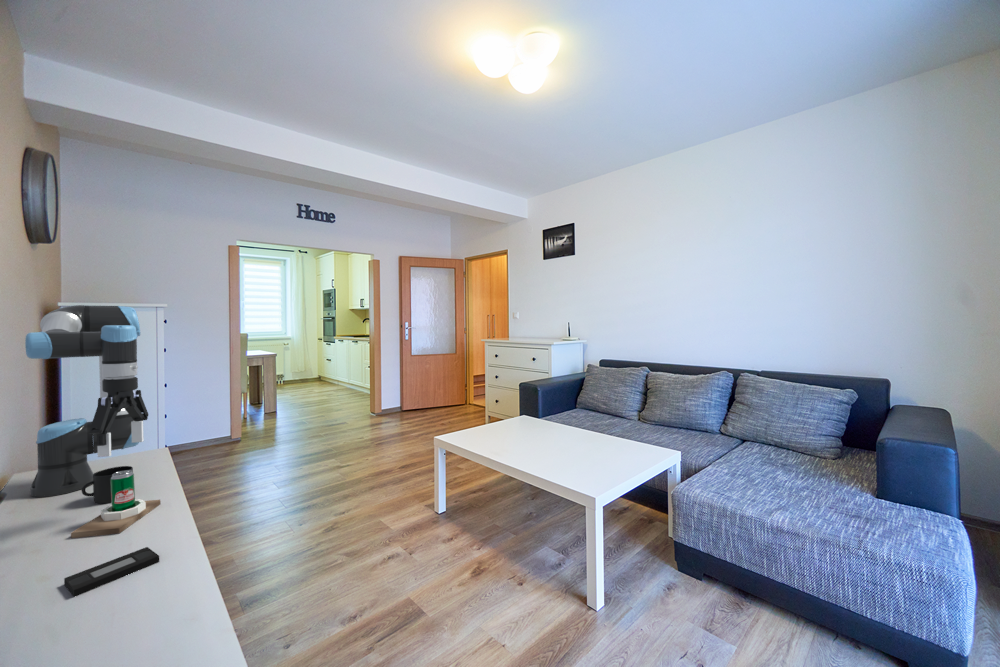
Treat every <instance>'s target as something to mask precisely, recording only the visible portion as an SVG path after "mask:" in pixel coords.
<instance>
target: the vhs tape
mask: <svg viewBox="0 0 1000 667" xmlns="http://www.w3.org/2000/svg"><path fill="white" fill-rule="evenodd" d="M159 563H160V555H158V553H156V552H155V551H153V550H152V549H151V548H150V547H148V546H146V547H143V548H140V549H137V550H134V551H132V552H130V553H127V554H124V555H122V556H119V557H116V558H114V559H112V560H111V559H110V560H108V561H105V562H104V563H101V564H99V565H96V566H93V567H91V568H88V569H85V570H82V571H80V572H77V573H74V574H72V575H69V576H67V577H64V578H63V580H64V583H63V584H64V585H63V586H65V588H66V589H67V590H68V591H69V593H70V594H71V595H72V596H73V598H76V597H78V596H81V595H84V594H85V593H88V592H90V591H92V590H94V589H97V588H99V587H102V586H105V585H107V584H109V583H110V584H111V583H112V582H114V581H118V580H119V579H121V578H122V579H123V578H124V577H127V576H129V575H132V574H134V573H137V572H138V570H139V571H141V570H144V569H146V568H148V567H151V566H154V565H155V564H156V565H157V564H159ZM133 572H134V573H133ZM131 573H132V574H131ZM128 574H129V575H128ZM126 575H127V576H126ZM75 596H76V597H75Z"/></svg>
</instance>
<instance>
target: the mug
mask: <svg viewBox="0 0 1000 667" xmlns="http://www.w3.org/2000/svg"><path fill="white" fill-rule="evenodd" d="M125 470H132V473H134V467H133V466H131V465H130V466H129V465H124V466H114V467H109V468H105V469H102V470H99V471H96V472H95V473H94V472H93V481H91V482H89V483H87V484H85V485H84V486H83V488H82V489H81V493H82V495H83V496H84V497H85V496H86V497H93V503H94V504H97V505H101V504H102V505H104V504H105V505H106V504H112V503H111V483H110V478H111V477H112V474H114V473H116V472H120V471H125ZM89 485H90V486H92V490H93V492H86V491H87V490H86V488H88V487H90V486H89ZM87 486H88V487H87Z"/></svg>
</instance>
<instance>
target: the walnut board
mask: <svg viewBox="0 0 1000 667" xmlns="http://www.w3.org/2000/svg"><path fill="white" fill-rule="evenodd" d="M144 501H145V502H146V509H144V510H143V511H142V512H140V513H139V514H137V515H134V516H130V517H127V518H124V519H120V520H111V521H104V520H103V519H102V518H101V514H99V515H98V516H96V517H95V518H92V519H91V520H90V521H88V522H87V523H85V524H83V525H81V526H80V527H78V528H76V529H74V530H73V531H72V532H70V538H71V539H76V538H77V539H78V538H87V537H98V536H106V535H107V536H108V535H116V534H117V535H119V534H121V533H122V532H123V531H125V530H127V529H128V528H129V527H131V526H133V524H135V523H136V522H138V521H139V520H140V519H141V518H143V517H145V516H146V515H147V514H148V513H150V512H152V511H154V510H155V509H156V508H157V507H159V506H160V505H161V499H151V500H149V499H148V500H144Z"/></svg>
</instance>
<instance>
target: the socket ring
mask: <svg viewBox="0 0 1000 667" xmlns="http://www.w3.org/2000/svg"><path fill="white" fill-rule="evenodd" d="M145 501H146V500H143V499H142V498H138V499H136V498H135V507H134V508H130V509H127V510H124V511H118V512H112V504H110V505H108V506H106V507H104V508H103V509H102V510H101V511H100V515H101V518H102V519H103V520H104V521H111V520H120V519H124V518H127V517H130V516H134V515H137V514H139V513H140V512H142V511H143V510H144V509H146V502H145Z"/></svg>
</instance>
